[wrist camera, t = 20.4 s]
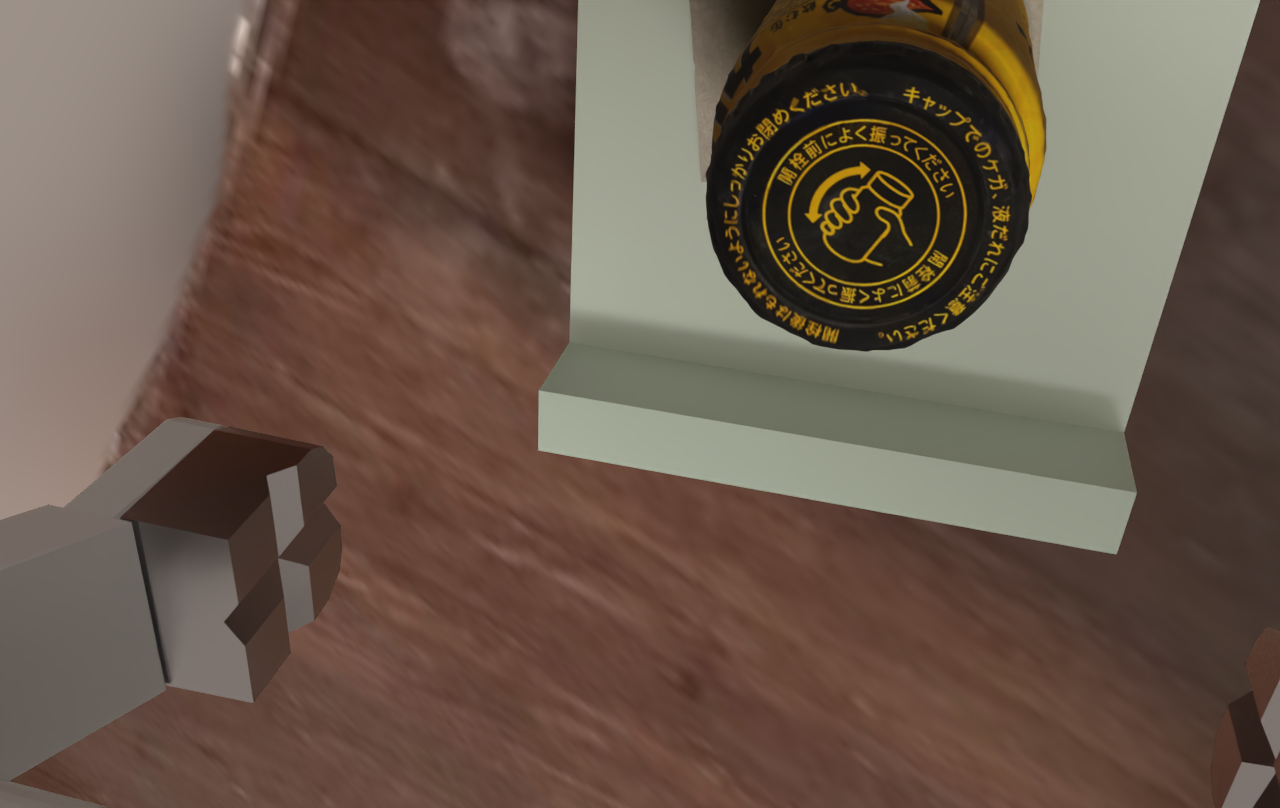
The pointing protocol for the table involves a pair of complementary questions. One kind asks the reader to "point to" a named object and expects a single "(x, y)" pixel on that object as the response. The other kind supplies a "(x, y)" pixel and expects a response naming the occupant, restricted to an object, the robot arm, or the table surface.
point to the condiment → (868, 158)
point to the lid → (933, 367)
